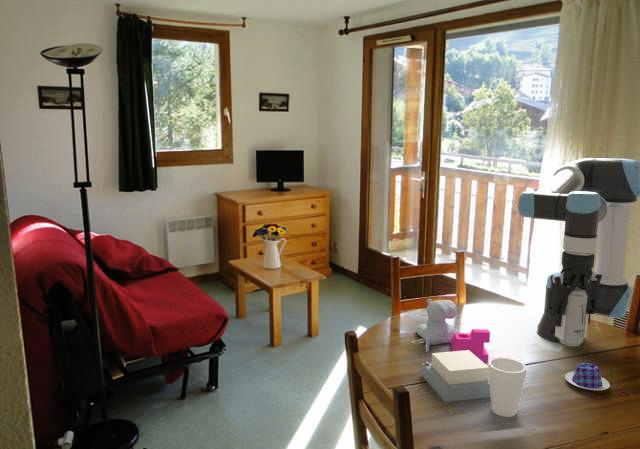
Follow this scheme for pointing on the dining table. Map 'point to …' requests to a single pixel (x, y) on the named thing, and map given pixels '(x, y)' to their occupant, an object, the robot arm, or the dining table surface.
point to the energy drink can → (575, 317)
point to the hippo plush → (437, 323)
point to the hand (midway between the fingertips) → (570, 336)
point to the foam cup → (505, 385)
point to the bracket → (472, 343)
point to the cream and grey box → (457, 376)
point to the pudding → (587, 377)
